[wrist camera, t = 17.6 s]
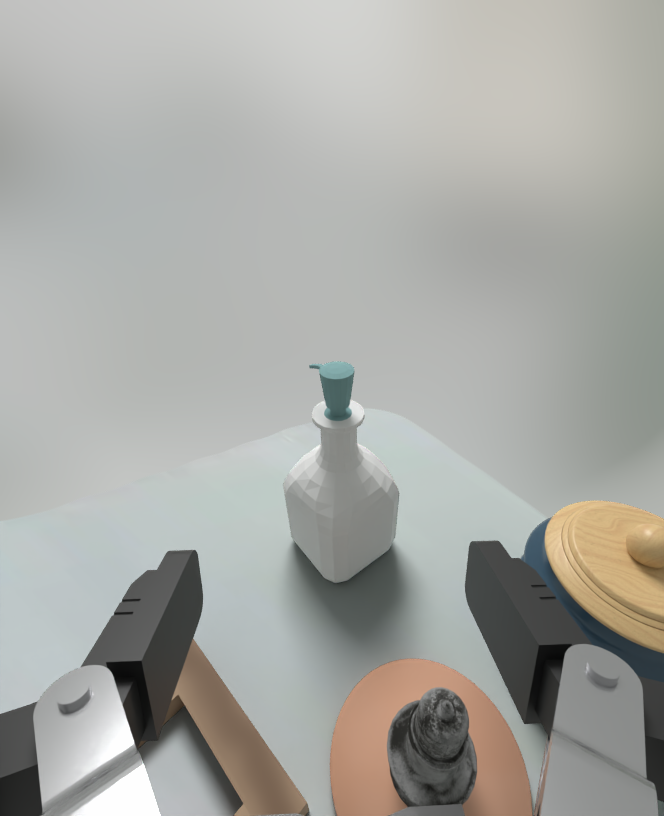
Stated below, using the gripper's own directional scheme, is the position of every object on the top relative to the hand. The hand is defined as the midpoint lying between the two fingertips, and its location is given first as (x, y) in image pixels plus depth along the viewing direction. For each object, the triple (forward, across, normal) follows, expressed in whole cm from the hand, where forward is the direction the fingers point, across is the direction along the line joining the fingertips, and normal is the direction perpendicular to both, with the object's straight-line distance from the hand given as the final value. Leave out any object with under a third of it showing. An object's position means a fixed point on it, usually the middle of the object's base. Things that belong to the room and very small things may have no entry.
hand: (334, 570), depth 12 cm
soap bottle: (+29, -2, +20) cm, 36 cm away
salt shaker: (+10, -7, +25) cm, 28 cm away
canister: (+16, -21, +24) cm, 36 cm away
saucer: (+10, -7, +26) cm, 29 cm away
